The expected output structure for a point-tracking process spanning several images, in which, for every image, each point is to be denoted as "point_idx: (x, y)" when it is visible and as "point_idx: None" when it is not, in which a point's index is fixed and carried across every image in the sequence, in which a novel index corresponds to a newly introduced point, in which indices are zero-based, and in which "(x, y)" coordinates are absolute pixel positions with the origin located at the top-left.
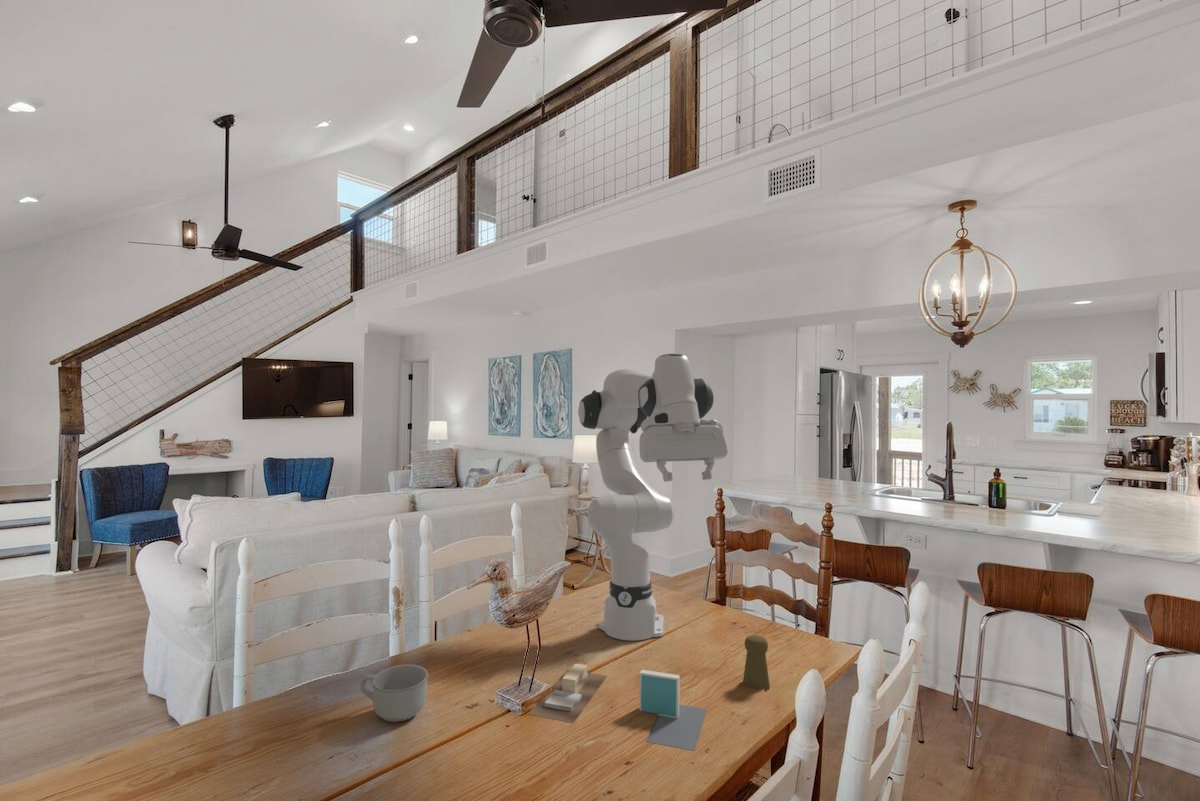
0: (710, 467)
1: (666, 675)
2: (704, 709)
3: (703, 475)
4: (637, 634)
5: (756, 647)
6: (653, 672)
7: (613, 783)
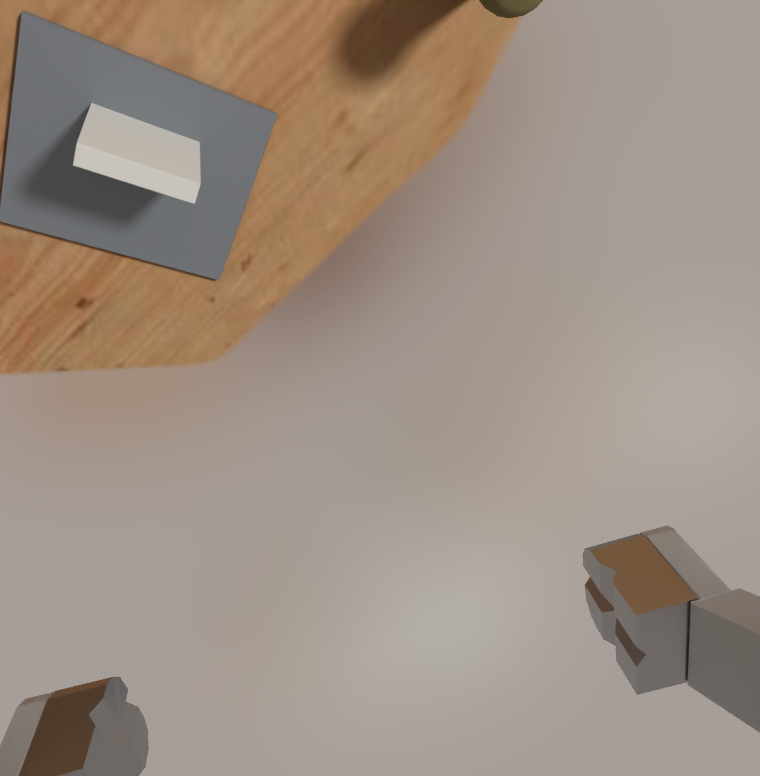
0: (756, 713)
1: (160, 184)
2: (270, 117)
3: (614, 601)
4: None
5: (497, 14)
6: (118, 165)
7: (63, 354)
